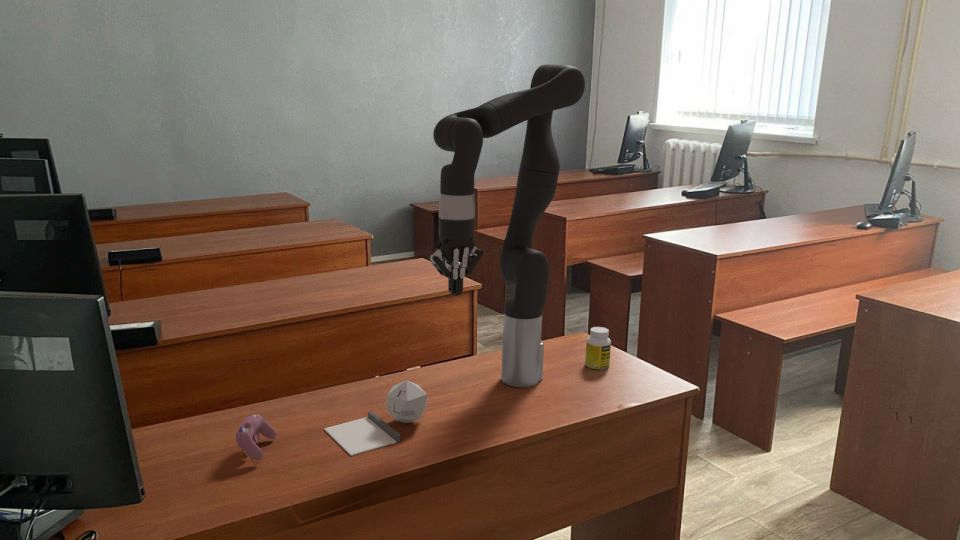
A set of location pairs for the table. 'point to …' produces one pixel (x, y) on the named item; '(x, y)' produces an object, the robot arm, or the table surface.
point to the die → (406, 402)
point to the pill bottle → (598, 349)
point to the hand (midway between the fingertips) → (455, 294)
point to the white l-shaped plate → (363, 434)
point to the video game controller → (253, 435)
